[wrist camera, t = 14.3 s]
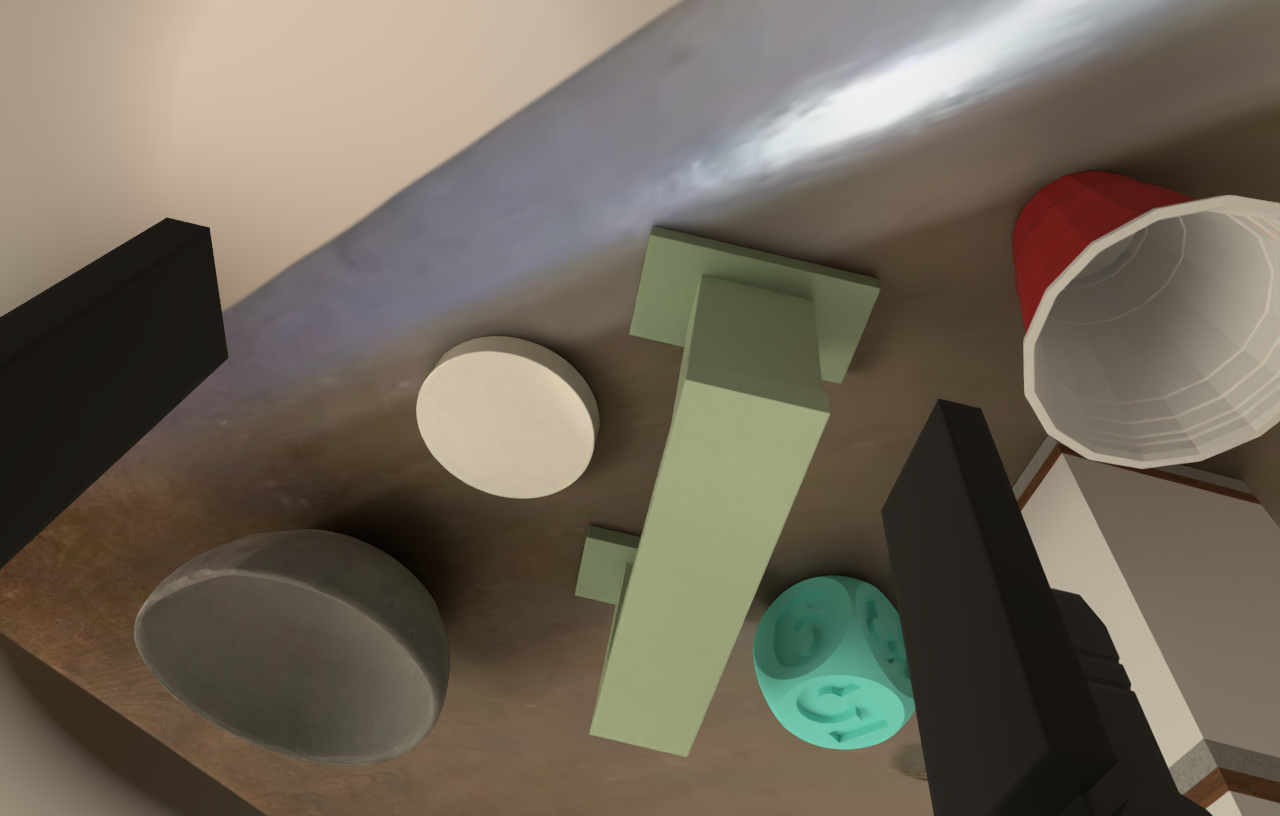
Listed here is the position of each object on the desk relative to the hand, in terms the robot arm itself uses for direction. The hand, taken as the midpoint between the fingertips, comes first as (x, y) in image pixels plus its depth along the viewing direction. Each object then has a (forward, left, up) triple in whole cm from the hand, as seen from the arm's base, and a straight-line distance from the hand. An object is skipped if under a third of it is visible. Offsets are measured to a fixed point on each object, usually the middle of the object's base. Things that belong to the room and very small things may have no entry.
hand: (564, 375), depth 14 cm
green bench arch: (+22, +6, -27) cm, 35 cm away
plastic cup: (+3, +20, -27) cm, 34 cm away
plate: (+22, -6, -27) cm, 35 cm away
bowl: (+41, -17, -27) cm, 52 cm away
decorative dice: (+33, +18, -27) cm, 46 cm away
